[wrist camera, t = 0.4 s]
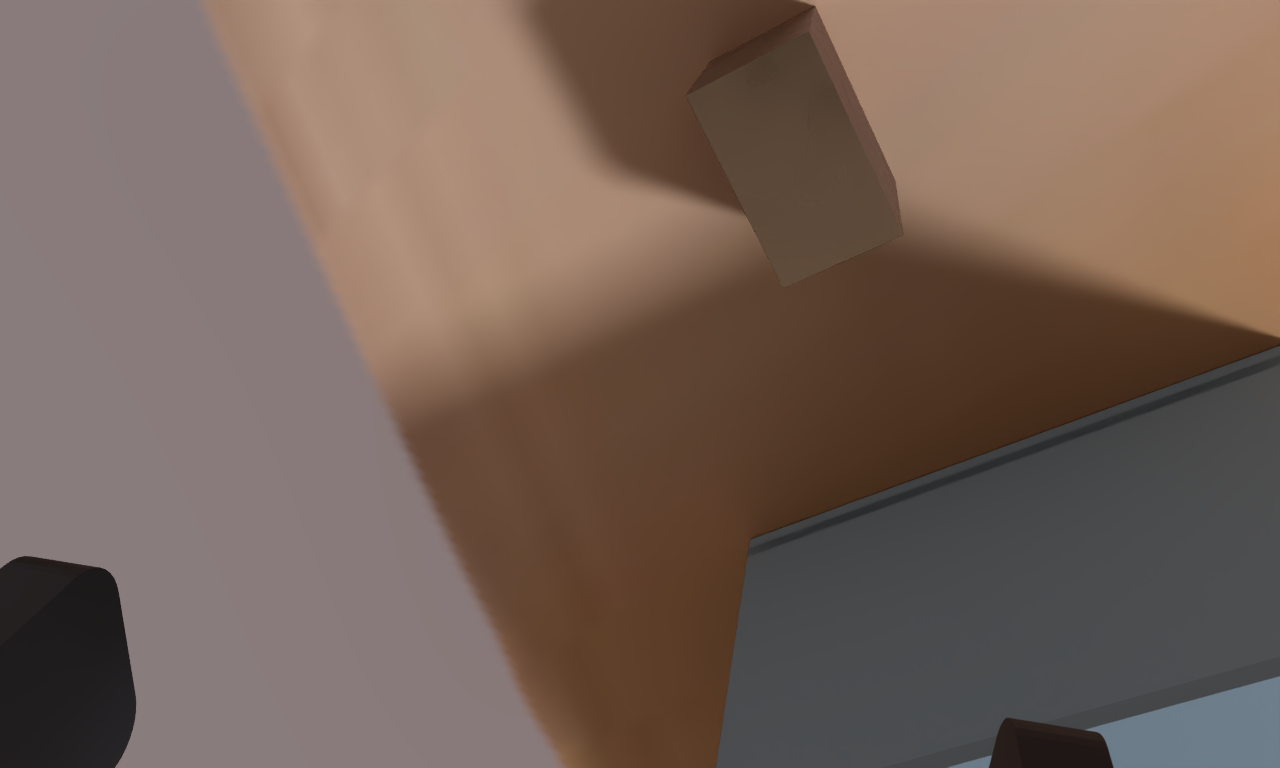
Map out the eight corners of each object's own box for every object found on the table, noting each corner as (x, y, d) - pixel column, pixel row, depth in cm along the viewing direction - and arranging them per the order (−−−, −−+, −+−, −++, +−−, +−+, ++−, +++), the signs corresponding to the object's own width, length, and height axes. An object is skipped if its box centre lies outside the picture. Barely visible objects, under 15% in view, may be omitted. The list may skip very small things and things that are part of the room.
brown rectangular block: (815, 5, 29) (808, 31, 24) (895, 180, 30) (903, 234, 26) (710, 61, 30) (685, 96, 25) (792, 227, 31) (783, 288, 27)
